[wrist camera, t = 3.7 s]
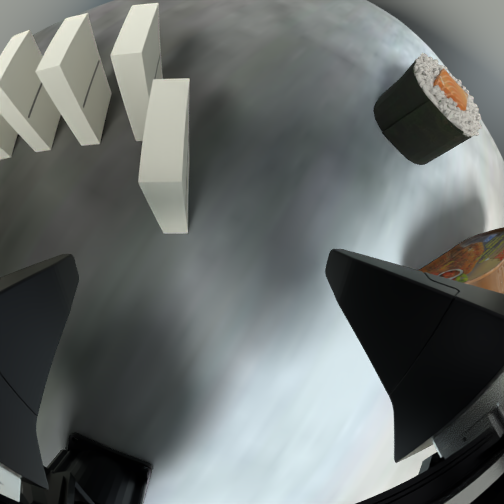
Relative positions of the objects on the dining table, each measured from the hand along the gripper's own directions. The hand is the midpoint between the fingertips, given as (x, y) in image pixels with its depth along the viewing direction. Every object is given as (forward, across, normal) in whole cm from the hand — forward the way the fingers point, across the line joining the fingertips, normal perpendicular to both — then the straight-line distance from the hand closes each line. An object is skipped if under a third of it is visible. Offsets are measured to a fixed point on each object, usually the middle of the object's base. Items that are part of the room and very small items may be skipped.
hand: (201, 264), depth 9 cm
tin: (+7, +22, -6) cm, 24 cm away
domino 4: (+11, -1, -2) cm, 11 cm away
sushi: (+16, +20, +5) cm, 26 cm away
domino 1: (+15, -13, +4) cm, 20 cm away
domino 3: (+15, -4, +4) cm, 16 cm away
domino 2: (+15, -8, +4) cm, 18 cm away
